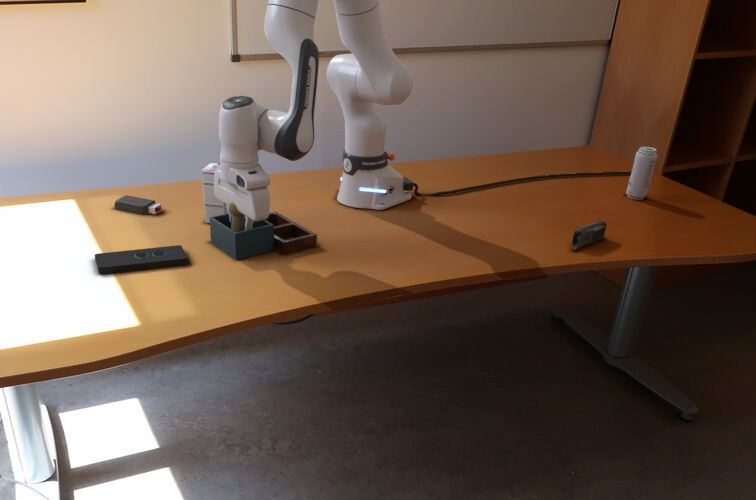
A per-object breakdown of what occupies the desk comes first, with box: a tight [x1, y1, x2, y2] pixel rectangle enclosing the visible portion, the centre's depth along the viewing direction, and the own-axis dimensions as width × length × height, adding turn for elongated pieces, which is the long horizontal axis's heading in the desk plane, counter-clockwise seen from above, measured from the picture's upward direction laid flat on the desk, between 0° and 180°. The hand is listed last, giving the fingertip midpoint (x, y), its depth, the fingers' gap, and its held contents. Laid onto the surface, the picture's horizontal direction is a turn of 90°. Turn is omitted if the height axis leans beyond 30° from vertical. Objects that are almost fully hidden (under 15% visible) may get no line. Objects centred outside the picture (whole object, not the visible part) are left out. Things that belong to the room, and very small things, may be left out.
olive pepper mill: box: [229, 203, 246, 232], centre depth 179 cm, size 6×6×11 cm
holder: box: [265, 211, 318, 255], centre depth 188 cm, size 10×19×3 cm, turn 38°
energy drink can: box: [625, 146, 658, 201], centre depth 225 cm, size 6×6×15 cm
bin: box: [209, 213, 275, 260], centre depth 181 cm, size 11×12×7 cm
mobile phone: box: [571, 220, 607, 251], centre depth 194 cm, size 5×3×15 cm
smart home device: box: [94, 244, 189, 275], centre depth 172 cm, size 8×2×20 cm
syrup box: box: [200, 162, 228, 224], centre depth 193 cm, size 6×6×14 cm
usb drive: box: [114, 195, 163, 215], centre depth 200 cm, size 5×12×3 cm, turn 70°
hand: (241, 226), depth 180 cm, fingers open, 5 cm apart
